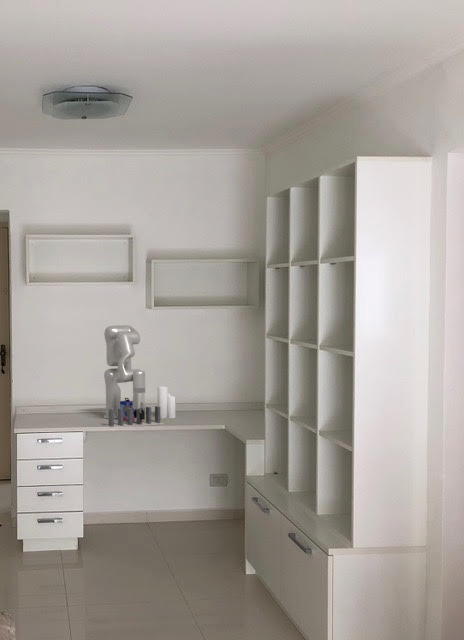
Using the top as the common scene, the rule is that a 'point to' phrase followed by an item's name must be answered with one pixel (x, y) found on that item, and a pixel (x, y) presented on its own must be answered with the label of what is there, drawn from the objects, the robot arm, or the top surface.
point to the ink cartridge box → (124, 406)
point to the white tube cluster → (166, 403)
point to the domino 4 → (138, 418)
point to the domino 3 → (129, 416)
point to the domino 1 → (111, 417)
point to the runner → (134, 424)
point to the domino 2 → (120, 416)
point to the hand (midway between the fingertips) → (139, 418)
